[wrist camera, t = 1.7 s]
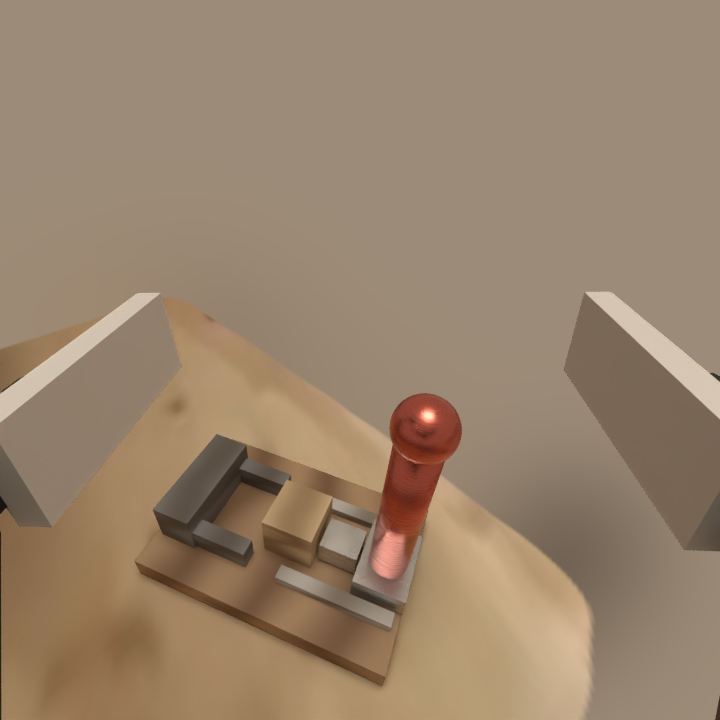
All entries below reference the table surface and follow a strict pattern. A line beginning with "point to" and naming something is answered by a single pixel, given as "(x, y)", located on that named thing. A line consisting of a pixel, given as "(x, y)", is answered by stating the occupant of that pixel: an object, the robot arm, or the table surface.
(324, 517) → the block
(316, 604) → the press bed
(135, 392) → the robot arm
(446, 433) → the press lever
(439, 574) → the table surface
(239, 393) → the table surface
